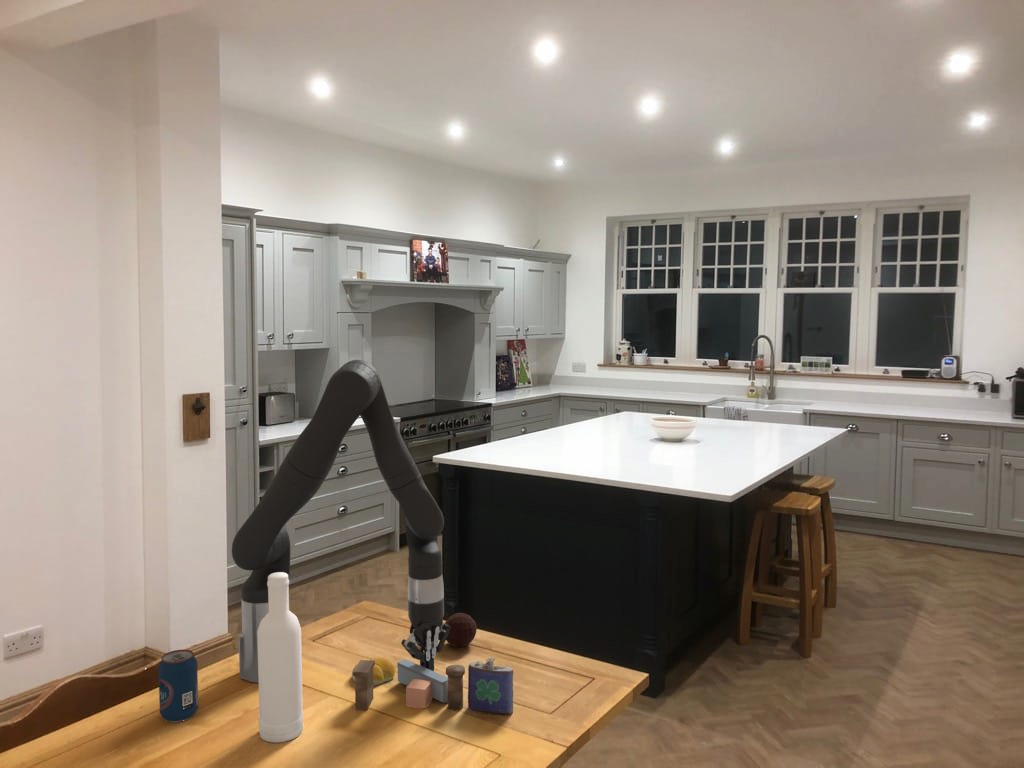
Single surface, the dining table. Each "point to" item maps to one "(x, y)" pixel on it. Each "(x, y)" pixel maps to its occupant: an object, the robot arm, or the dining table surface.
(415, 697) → the block
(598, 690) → the dining table surface
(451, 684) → the dark brown cylindrical piece
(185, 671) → the soda can
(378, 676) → the bread roll
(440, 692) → the grey rectangular bar
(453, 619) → the dark maroon ball
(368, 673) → the stepped wooden slab
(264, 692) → the bottle
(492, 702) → the flask
